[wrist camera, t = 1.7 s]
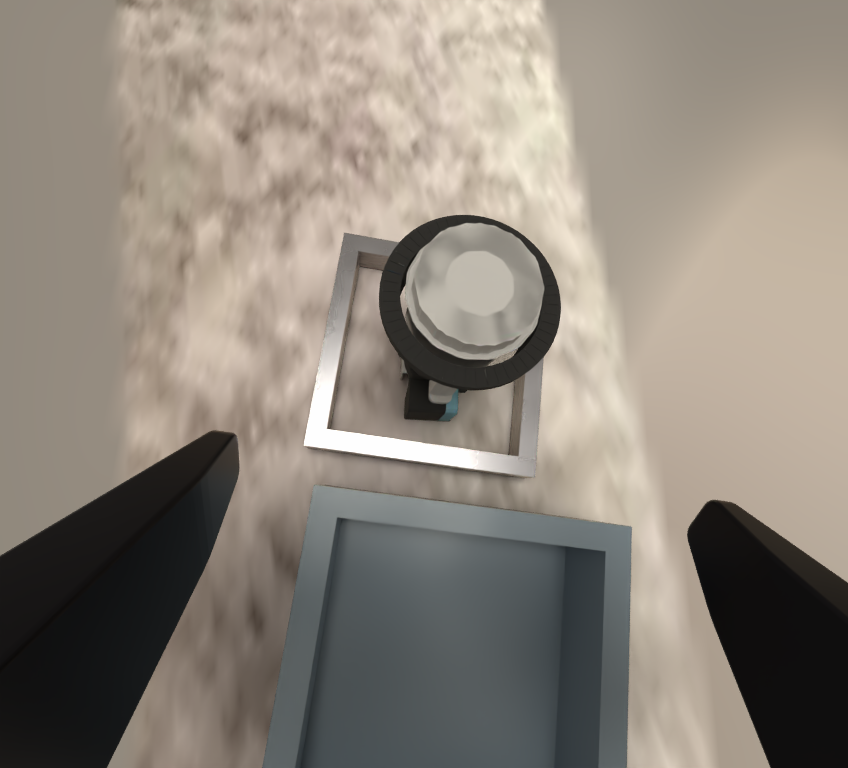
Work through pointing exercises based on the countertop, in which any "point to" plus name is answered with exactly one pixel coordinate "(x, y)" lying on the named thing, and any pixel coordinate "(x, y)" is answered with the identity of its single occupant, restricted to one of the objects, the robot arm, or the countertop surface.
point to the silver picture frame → (322, 438)
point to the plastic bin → (453, 638)
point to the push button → (466, 310)
